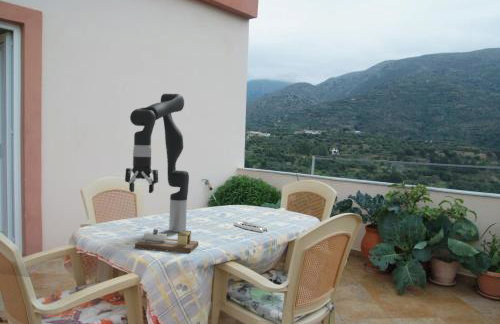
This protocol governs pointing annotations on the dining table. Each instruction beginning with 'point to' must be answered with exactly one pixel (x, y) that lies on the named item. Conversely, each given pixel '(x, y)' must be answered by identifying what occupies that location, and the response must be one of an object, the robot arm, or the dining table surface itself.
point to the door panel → (166, 245)
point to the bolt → (155, 236)
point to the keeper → (184, 238)
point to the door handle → (260, 229)
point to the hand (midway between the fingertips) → (141, 192)
